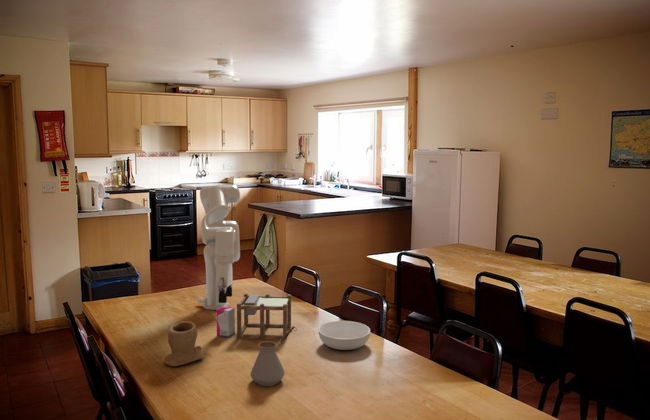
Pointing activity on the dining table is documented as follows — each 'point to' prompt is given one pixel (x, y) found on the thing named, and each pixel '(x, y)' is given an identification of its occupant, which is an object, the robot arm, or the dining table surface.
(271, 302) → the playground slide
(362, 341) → the serving bowl
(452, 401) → the dining table surface
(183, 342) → the stone cup
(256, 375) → the coffee pot
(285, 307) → the stand
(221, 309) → the supplement box
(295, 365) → the dining table surface
